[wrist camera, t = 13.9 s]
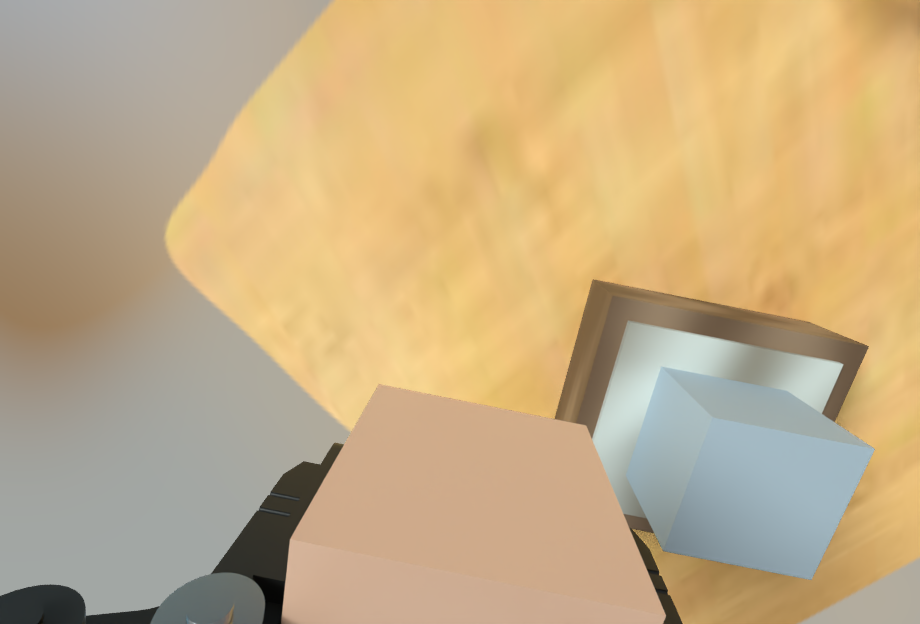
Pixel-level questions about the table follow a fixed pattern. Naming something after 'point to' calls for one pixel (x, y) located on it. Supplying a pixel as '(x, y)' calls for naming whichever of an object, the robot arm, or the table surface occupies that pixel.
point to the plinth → (687, 365)
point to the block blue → (742, 473)
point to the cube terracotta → (465, 524)
